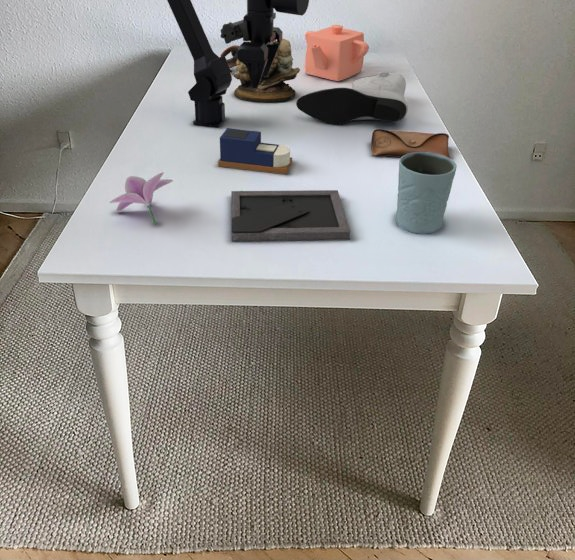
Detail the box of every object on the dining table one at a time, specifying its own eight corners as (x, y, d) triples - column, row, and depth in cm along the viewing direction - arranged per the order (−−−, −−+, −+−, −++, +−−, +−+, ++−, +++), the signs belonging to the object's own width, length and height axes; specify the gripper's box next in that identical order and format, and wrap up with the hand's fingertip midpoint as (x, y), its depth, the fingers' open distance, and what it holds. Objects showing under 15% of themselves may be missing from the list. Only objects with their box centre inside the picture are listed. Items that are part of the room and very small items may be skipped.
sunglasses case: (372, 155, 139) (374, 125, 139) (369, 159, 146) (371, 130, 146) (453, 160, 138) (455, 129, 138) (446, 163, 145) (448, 134, 145)
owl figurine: (298, 89, 177) (300, 26, 167) (299, 103, 167) (302, 37, 157) (234, 87, 176) (233, 24, 166) (233, 102, 166) (231, 36, 156)
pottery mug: (257, 76, 186) (245, 54, 180) (229, 89, 189) (216, 67, 183) (254, 55, 194) (242, 32, 188) (227, 67, 196) (215, 46, 190)
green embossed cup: (409, 239, 111) (419, 179, 104) (380, 213, 119) (388, 155, 112) (456, 229, 115) (468, 169, 108) (425, 204, 122) (435, 147, 115)
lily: (185, 208, 120) (165, 161, 118) (183, 215, 109) (161, 163, 106) (127, 231, 120) (106, 185, 117) (119, 241, 108) (96, 189, 106)
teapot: (317, 61, 199) (319, 15, 191) (377, 75, 189) (382, 27, 181) (280, 75, 186) (281, 27, 178) (343, 91, 176) (347, 40, 168)
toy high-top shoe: (218, 166, 134) (217, 137, 130) (226, 154, 139) (225, 126, 135) (286, 174, 131) (287, 145, 127) (292, 162, 136) (293, 134, 132)
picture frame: (231, 241, 109) (349, 239, 111) (231, 231, 108) (350, 229, 109) (231, 198, 122) (337, 197, 124) (231, 189, 121) (337, 188, 122)
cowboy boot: (410, 100, 148) (414, 70, 168) (298, 80, 150) (314, 53, 170) (401, 138, 153) (406, 104, 173) (293, 118, 156) (310, 87, 176)
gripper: (236, -3, 141) (237, 67, 150) (210, 15, 126) (214, 91, 136) (283, 1, 140) (282, 71, 149) (263, 20, 125) (263, 96, 134)
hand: (260, 81), depth 142 cm, fingers open, 9 cm apart
